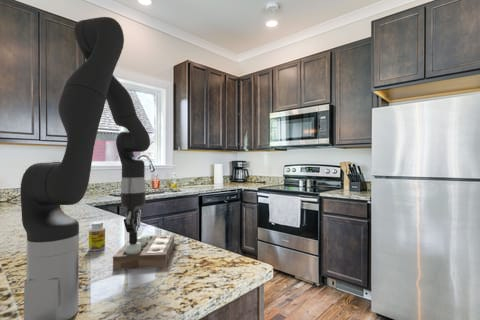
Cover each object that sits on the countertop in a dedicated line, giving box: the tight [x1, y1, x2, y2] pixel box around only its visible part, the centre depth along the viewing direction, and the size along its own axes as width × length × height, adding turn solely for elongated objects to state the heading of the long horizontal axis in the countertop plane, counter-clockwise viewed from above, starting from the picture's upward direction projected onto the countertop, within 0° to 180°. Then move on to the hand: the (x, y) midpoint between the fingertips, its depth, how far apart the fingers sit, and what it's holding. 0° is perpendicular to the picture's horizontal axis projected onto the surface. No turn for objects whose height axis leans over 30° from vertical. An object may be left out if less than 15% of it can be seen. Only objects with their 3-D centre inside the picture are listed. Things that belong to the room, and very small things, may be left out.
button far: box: [141, 234, 151, 241], centre depth 101 cm, size 5×5×4 cm
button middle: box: [137, 235, 146, 247], centre depth 94 cm, size 5×5×4 cm
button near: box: [125, 242, 141, 255], centre depth 86 cm, size 5×5×4 cm
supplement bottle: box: [88, 221, 106, 252], centre depth 101 cm, size 6×6×10 cm
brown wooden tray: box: [112, 234, 175, 271], centre depth 94 cm, size 23×16×4 cm
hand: (133, 243), depth 86 cm, fingers closed
